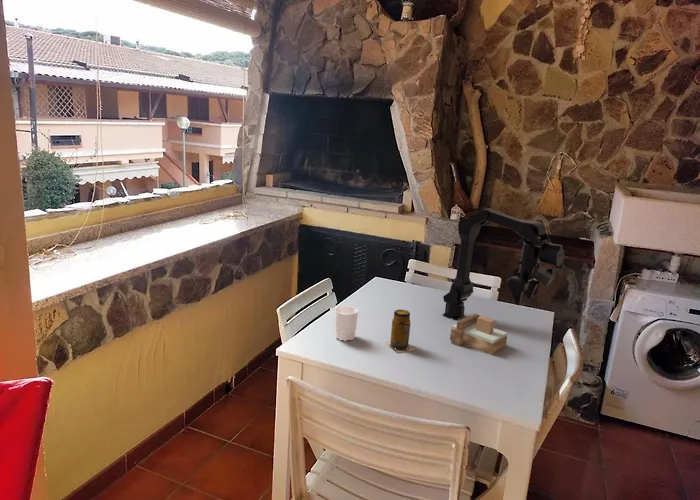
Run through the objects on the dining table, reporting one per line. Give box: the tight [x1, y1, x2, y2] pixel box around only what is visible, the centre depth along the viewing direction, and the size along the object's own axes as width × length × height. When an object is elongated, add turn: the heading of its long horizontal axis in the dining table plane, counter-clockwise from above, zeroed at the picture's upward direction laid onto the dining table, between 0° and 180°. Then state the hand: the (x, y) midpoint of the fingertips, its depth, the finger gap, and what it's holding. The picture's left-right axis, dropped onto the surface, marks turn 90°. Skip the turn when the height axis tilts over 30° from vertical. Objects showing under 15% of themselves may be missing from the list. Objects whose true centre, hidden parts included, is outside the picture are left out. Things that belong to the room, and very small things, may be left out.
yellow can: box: [384, 308, 417, 353], centre depth 171 cm, size 7×8×12 cm
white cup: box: [334, 305, 359, 341], centre depth 176 cm, size 8×8×10 cm
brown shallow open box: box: [449, 327, 508, 356], centre depth 178 cm, size 16×15×5 cm
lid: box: [451, 315, 508, 343], centre depth 177 cm, size 16×10×6 cm, turn 47°
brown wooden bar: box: [456, 313, 480, 329], centre depth 180 cm, size 2×12×2 cm, turn 137°
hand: (523, 301), depth 179 cm, fingers open, 9 cm apart
